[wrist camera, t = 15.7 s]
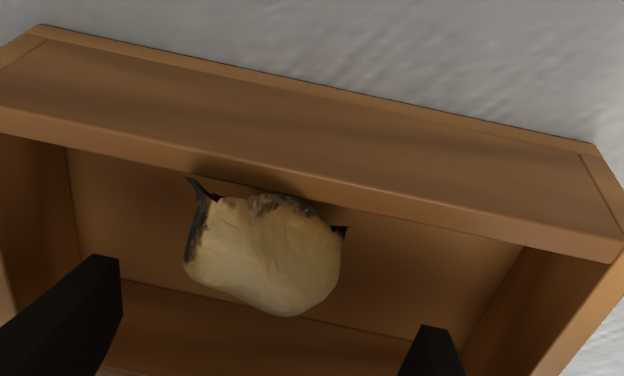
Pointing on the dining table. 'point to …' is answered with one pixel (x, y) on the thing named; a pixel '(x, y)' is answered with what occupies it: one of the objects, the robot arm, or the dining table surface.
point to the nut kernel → (263, 250)
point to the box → (315, 193)
